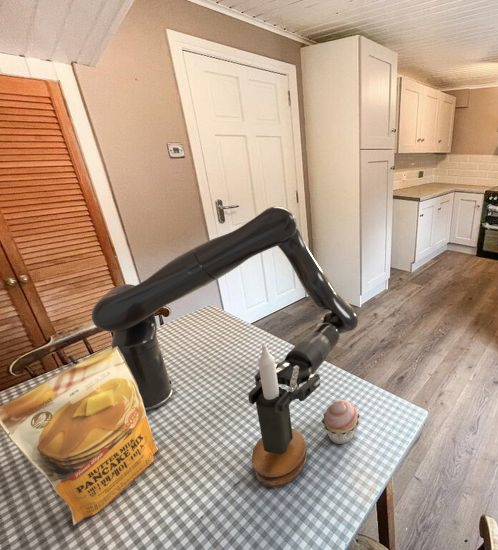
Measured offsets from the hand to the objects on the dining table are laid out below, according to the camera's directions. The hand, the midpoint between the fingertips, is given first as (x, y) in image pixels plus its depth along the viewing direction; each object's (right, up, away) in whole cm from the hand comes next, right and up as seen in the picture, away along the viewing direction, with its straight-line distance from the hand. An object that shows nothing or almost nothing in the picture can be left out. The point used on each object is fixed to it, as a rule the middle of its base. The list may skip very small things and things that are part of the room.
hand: (263, 404), depth 58 cm
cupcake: (+14, -14, +16) cm, 25 cm away
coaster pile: (+1, -17, +9) cm, 19 cm away
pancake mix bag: (-32, -18, +5) cm, 37 cm away
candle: (+1, -11, +7) cm, 13 cm away
